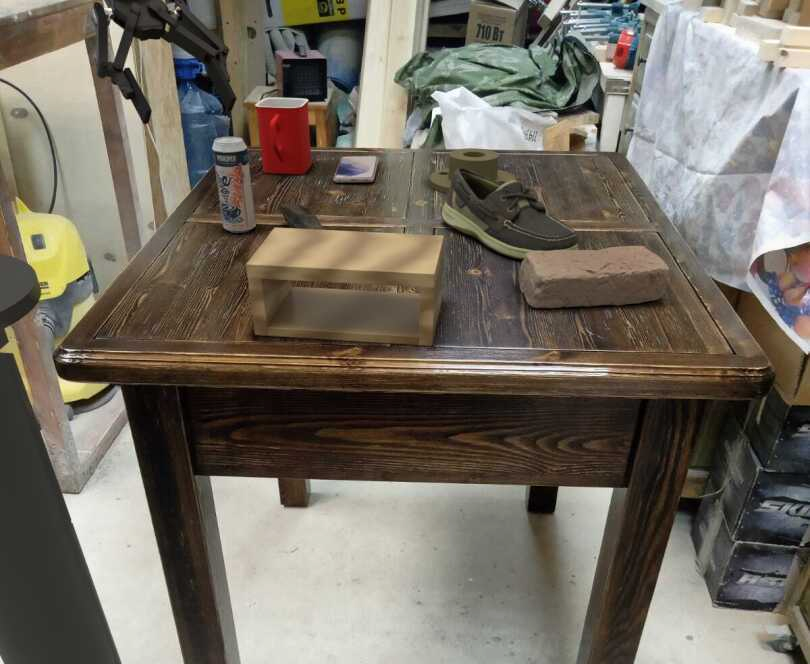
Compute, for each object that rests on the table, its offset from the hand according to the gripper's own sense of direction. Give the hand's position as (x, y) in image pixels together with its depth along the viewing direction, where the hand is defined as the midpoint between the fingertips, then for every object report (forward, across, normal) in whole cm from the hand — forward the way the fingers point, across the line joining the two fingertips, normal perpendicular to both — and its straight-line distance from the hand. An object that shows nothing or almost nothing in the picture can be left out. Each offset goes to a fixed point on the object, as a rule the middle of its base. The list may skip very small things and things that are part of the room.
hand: (191, 111), depth 110 cm
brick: (+52, -20, +32) cm, 64 cm away
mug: (+2, -23, -19) cm, 30 cm away
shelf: (+42, +7, +22) cm, 48 cm away
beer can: (+17, 0, -3) cm, 17 cm away
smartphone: (+8, -32, -12) cm, 36 cm away
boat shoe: (+38, -26, +17) cm, 49 cm away
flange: (+21, -44, 0) cm, 48 cm away
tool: (+26, -6, +6) cm, 27 cm away
